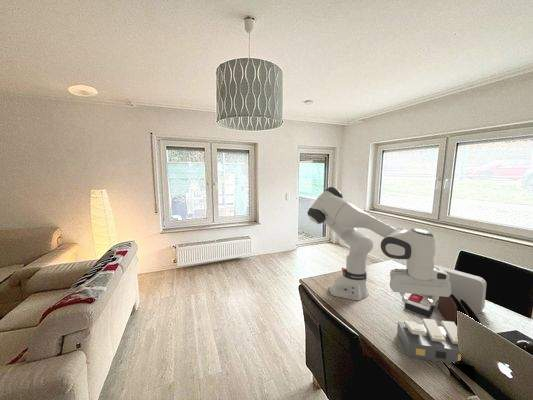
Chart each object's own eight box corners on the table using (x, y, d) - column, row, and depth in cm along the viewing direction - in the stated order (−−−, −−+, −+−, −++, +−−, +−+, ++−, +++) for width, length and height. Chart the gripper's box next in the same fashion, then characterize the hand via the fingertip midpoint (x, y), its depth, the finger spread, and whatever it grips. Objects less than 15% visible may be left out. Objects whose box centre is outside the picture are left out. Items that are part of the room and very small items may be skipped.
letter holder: (452, 334, 98) (454, 305, 97) (437, 309, 116) (439, 284, 115) (481, 340, 94) (484, 309, 93) (461, 312, 113) (463, 287, 111)
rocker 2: (431, 340, 86) (432, 337, 86) (422, 321, 94) (422, 318, 94) (444, 342, 85) (445, 339, 85) (433, 322, 93) (434, 319, 93)
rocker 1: (412, 333, 87) (412, 329, 88) (404, 324, 96) (404, 320, 96) (425, 335, 86) (424, 330, 87) (415, 325, 95) (415, 321, 95)
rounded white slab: (485, 310, 114) (488, 277, 112) (481, 315, 110) (483, 281, 108) (422, 287, 138) (424, 260, 136) (417, 291, 134) (418, 263, 132)
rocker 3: (452, 343, 85) (453, 340, 84) (440, 323, 93) (441, 320, 92) (466, 345, 84) (467, 342, 83) (453, 324, 92) (453, 321, 91)
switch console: (408, 357, 87) (409, 340, 86) (397, 333, 100) (397, 319, 99) (474, 367, 81) (476, 349, 81) (453, 341, 94) (455, 325, 93)
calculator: (435, 299, 119) (429, 310, 109) (435, 306, 120) (429, 318, 110) (412, 291, 127) (404, 301, 117) (411, 298, 128) (404, 309, 117)
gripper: (392, 271, 85) (391, 304, 86) (454, 276, 80) (452, 311, 81) (388, 265, 91) (387, 296, 92) (445, 268, 86) (443, 301, 87)
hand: (418, 303), depth 87 cm, fingers open, 8 cm apart
